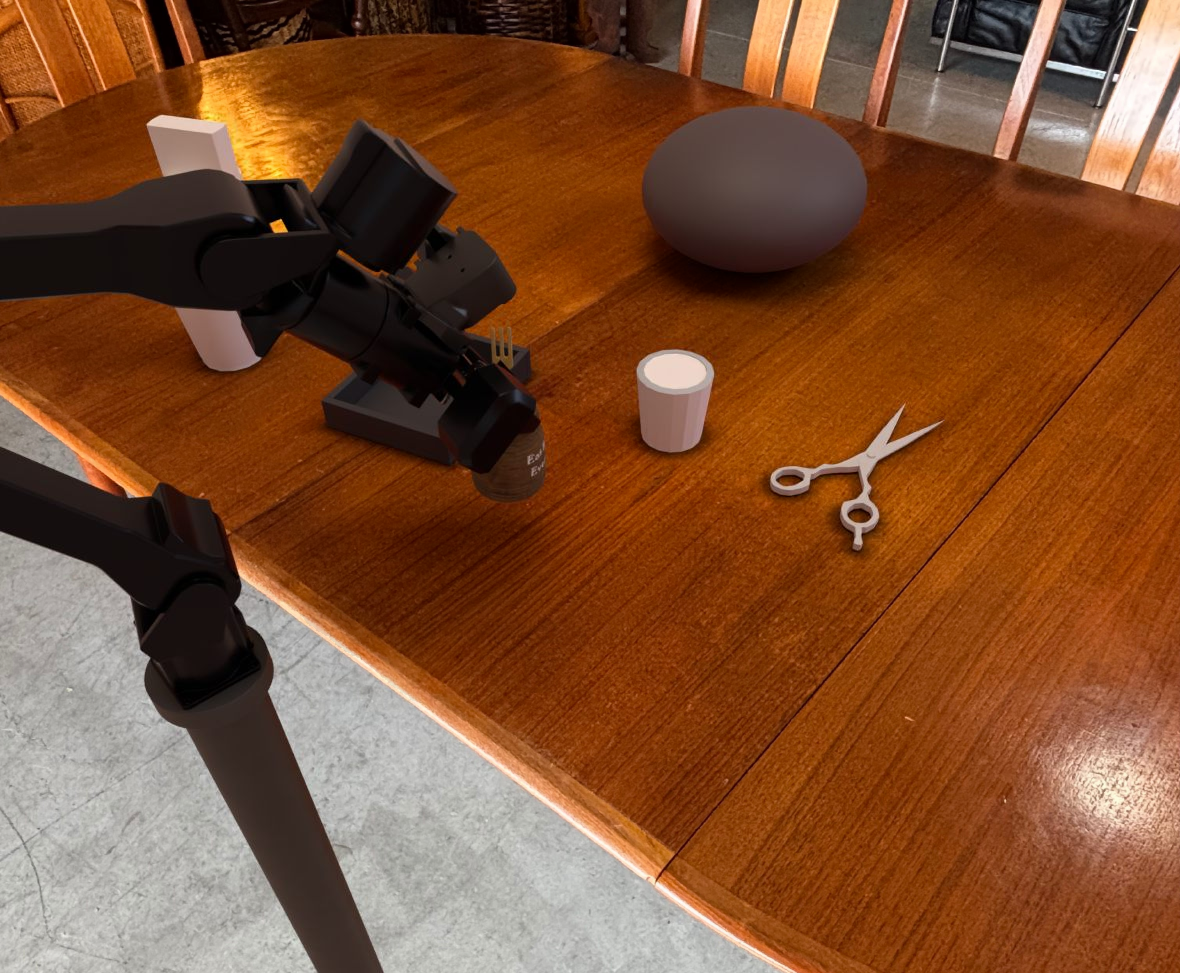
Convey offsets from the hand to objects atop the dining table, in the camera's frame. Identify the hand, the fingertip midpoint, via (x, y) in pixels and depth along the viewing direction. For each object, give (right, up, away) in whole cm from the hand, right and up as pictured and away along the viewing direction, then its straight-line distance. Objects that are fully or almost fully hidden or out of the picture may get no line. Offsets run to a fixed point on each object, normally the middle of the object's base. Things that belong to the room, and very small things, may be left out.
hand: (521, 408), depth 74 cm
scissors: (+30, -3, +14) cm, 33 cm away
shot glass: (+13, +1, +17) cm, 22 cm away
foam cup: (-32, +10, +27) cm, 43 cm away
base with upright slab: (-41, +31, +46) cm, 69 cm away
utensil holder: (-1, -5, +4) cm, 7 cm away
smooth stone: (+23, +26, +40) cm, 53 cm away
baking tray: (-10, +5, +21) cm, 24 cm away
